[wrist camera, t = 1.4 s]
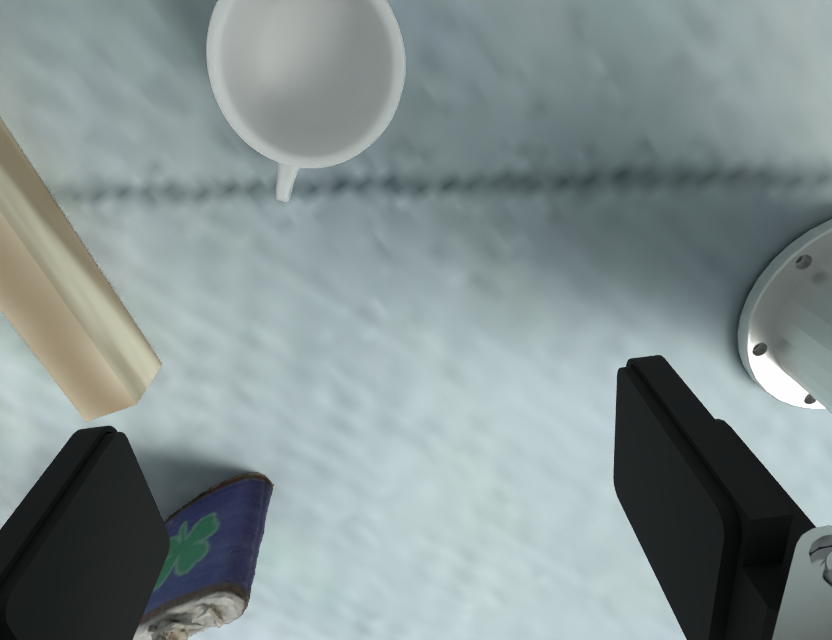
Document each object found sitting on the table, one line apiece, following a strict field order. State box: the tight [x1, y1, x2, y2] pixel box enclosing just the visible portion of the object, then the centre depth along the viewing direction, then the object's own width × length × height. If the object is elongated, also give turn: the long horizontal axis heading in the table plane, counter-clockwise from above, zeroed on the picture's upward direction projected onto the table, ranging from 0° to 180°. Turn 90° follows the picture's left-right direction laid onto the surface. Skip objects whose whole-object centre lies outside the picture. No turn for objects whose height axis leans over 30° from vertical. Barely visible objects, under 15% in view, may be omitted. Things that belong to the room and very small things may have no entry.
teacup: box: [206, 0, 406, 202], centre depth 26 cm, size 10×8×5 cm
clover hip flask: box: [133, 473, 274, 640], centre depth 35 cm, size 9×3×11 cm, turn 123°
